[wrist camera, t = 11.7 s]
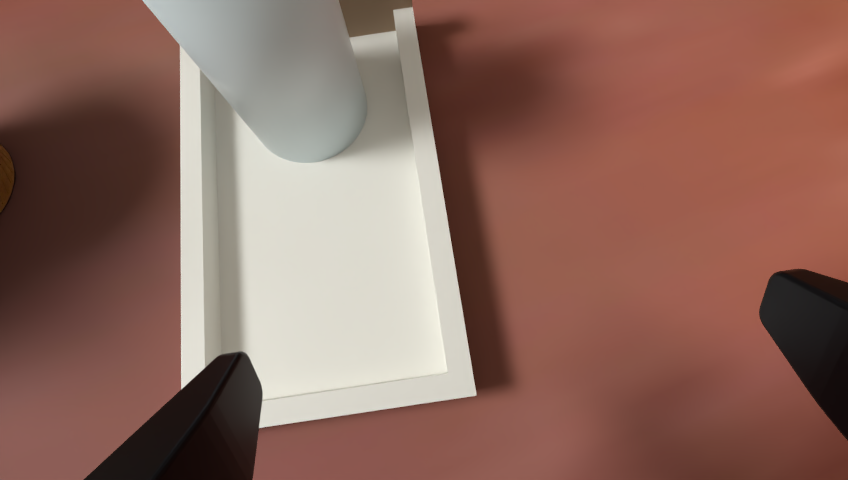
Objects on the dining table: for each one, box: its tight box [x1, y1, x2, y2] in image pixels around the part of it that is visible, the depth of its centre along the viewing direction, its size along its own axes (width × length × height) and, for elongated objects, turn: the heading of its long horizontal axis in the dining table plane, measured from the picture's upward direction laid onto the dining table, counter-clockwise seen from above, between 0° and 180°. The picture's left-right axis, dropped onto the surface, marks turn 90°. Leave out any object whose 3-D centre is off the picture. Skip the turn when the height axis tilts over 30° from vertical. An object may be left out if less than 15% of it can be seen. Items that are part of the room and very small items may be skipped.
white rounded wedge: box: [143, 0, 367, 163], centre depth 17 cm, size 6×6×13 cm
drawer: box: [180, 0, 477, 428], centre depth 21 cm, size 20×12×4 cm, turn 8°
